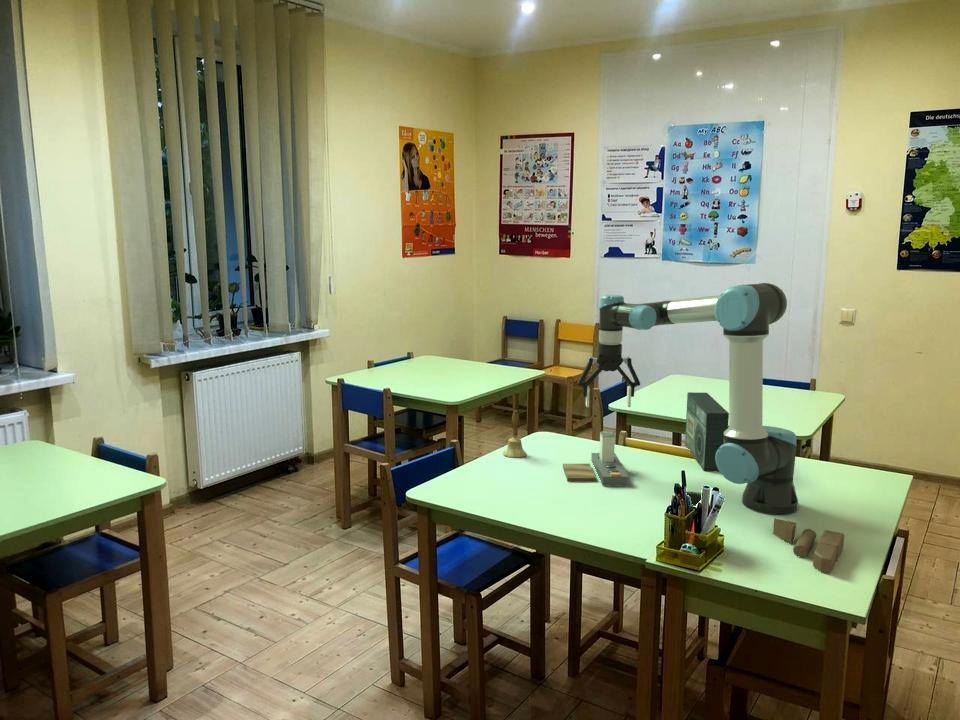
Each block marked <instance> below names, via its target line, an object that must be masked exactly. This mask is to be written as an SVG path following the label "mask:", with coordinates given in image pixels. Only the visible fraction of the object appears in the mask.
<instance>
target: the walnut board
mask: <svg viewBox="0 0 960 720" xmlns="http://www.w3.org/2000/svg"><path fill="white" fill-rule="evenodd" d="M562 470H563V472H564V475H565V477H566V480H567V482H568V483H569V481H596V482H597V477H596V475H595V473H594V471H593V467H592V465H591V464H590V463H562Z"/></svg>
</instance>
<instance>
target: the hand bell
mask: <svg viewBox="0 0 960 720" xmlns="http://www.w3.org/2000/svg"><path fill="white" fill-rule="evenodd" d="M511 424H512V437H510V438H509V439H508V443H507V447H506V449H505V450H504V451H503V453H502V455H503V456H505V457H508V458H514V459H515V458H517V459H518V458H525V456H527V452H526V450H525V449H524V448H523V445H522V439H521V438H519V437H518V434H519V433H518V428H519V424H520V415H519V411H518V410H513V413H512V416H511Z"/></svg>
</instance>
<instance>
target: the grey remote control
mask: <svg viewBox="0 0 960 720" xmlns="http://www.w3.org/2000/svg"><path fill="white" fill-rule="evenodd" d="M590 457H591V461H592V462H591V463H593V464H592V465H594V466H593V468H594V467H595V468H594V470H595V469H596V470H595V472H597V473H596V474H598V475H597V477H598V476H599V477H598V479H599V478H600V479H599V480H601V481H600V483H601V486H602V485H628V486H629V479H630V478H629V475H628V473H627V471H626V470H625V468H624V466H623V463H621V460H620V459H619V457H618V456H617V454H616V453H615V452H614V462H600V460H599V457H600V452H591V456H590Z"/></svg>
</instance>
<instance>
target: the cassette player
mask: <svg viewBox="0 0 960 720" xmlns="http://www.w3.org/2000/svg"><path fill="white" fill-rule="evenodd" d="M728 428H729V411H727V410H726V409H725V408H724V407H723V406H722V405H721V404H720V403H719V402H717V401H716V400H715V399H714V398H713V397H712V396H711V395H710V394H709V393H708V392H693V391H692V392H691V391H690V392H687V396H686V418H685V432H684V433H685V434H684V435H685V436H684V446H685V447H686V449H687V448H688V449H690V450H691V451H689V453H690V454H691V456H692V457H693V458H694V460H695V461H696V462H697V464H698V465H699V467H700V466H701V467H700V468H701V470H703V472H714V471H717V473H720V471H719V470H718V468H717V465H716V460H715V456H716V452H717V450H718V449H719V448H720V446H721V445H723V444H724V431H725V430H727V429H728ZM688 449H687V450H688Z"/></svg>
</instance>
